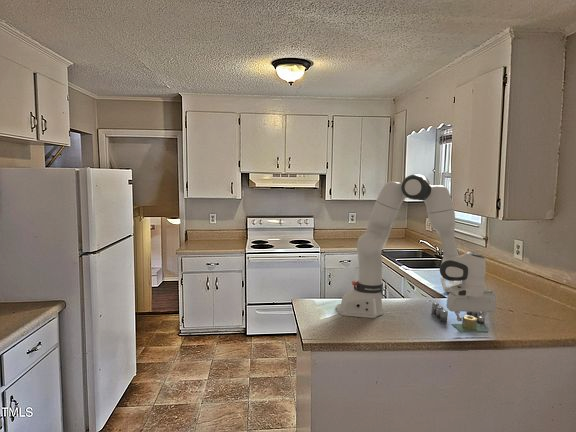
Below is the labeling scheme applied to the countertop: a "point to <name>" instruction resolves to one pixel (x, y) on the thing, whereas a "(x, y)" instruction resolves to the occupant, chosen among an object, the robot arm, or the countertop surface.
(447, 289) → the mounting bracket
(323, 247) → the countertop surface
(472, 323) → the brass nut
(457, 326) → the rubber mat
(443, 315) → the spacer rows
